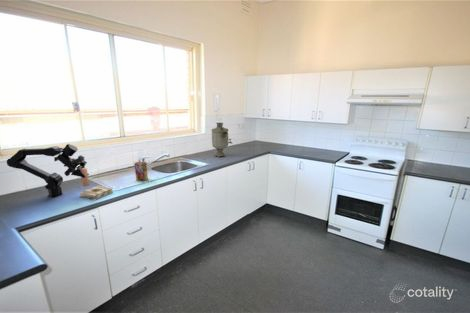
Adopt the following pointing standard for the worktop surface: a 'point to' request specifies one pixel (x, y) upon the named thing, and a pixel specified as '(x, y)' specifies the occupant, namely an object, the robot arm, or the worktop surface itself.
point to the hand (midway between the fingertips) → (86, 176)
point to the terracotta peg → (85, 180)
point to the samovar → (220, 139)
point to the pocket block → (96, 192)
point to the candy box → (141, 170)
